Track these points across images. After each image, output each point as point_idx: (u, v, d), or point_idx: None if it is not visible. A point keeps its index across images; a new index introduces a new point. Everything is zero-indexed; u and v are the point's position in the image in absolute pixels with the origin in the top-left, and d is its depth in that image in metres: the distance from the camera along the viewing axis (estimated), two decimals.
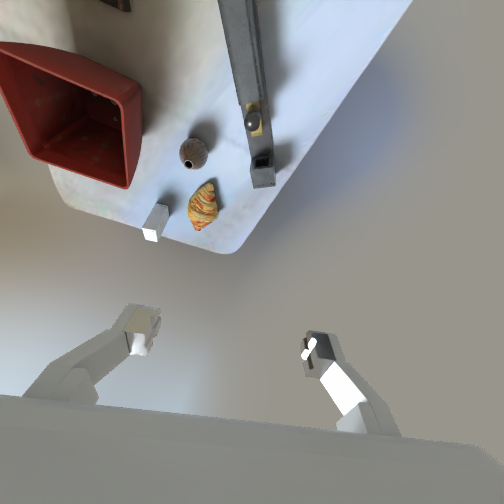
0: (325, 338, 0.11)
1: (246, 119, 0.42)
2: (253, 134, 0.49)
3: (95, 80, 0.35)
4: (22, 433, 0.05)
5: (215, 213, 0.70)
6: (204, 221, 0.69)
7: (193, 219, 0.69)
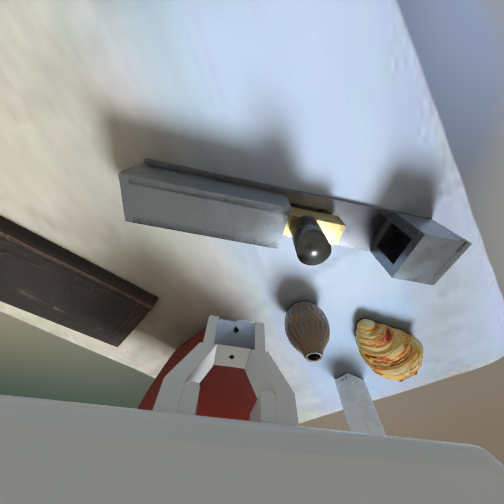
0: (250, 327, 0.11)
1: (302, 258, 0.20)
2: (334, 241, 0.25)
3: None
4: (22, 433, 0.05)
5: (413, 344, 0.37)
6: (413, 371, 0.37)
7: (395, 379, 0.38)
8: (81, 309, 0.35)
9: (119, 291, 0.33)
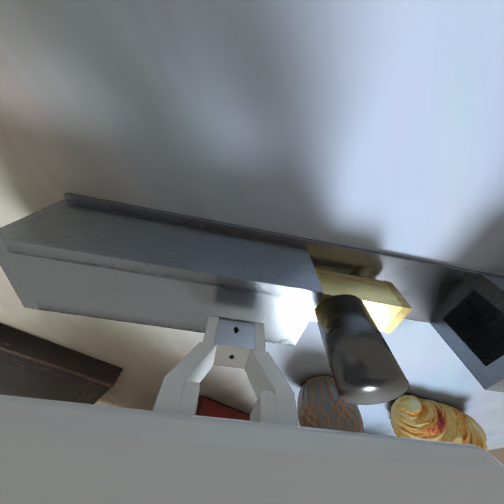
0: (250, 327, 0.11)
1: (346, 397, 0.10)
2: (388, 327, 0.15)
3: None
4: (22, 433, 0.05)
5: (473, 432, 0.27)
6: None
7: None
8: (15, 386, 0.25)
9: (61, 368, 0.23)
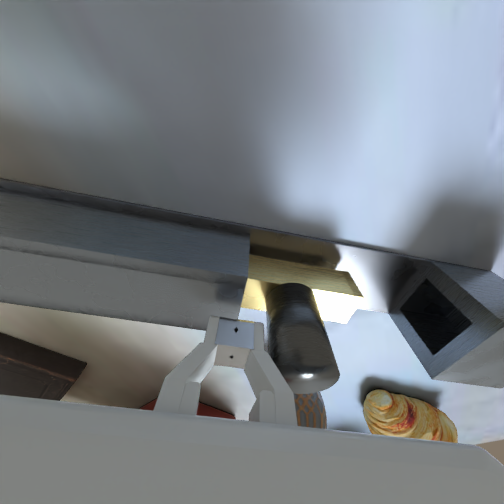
0: (249, 327, 0.11)
1: None
2: (343, 317, 0.15)
3: None
4: (22, 433, 0.05)
5: (444, 427, 0.26)
6: None
7: None
8: None
9: (20, 362, 0.22)
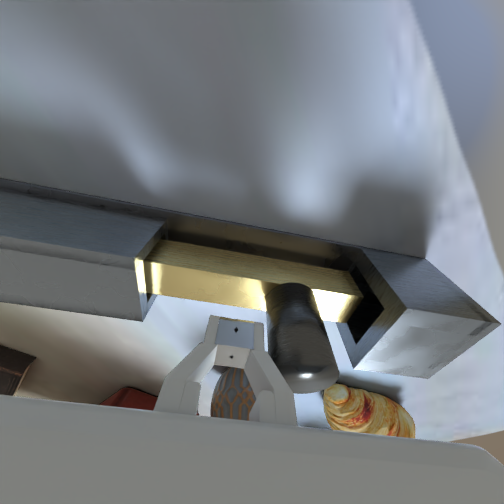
0: (249, 327, 0.11)
1: None
2: (343, 317, 0.15)
3: None
4: (22, 433, 0.05)
5: (401, 422, 0.26)
6: None
7: None
8: None
9: None
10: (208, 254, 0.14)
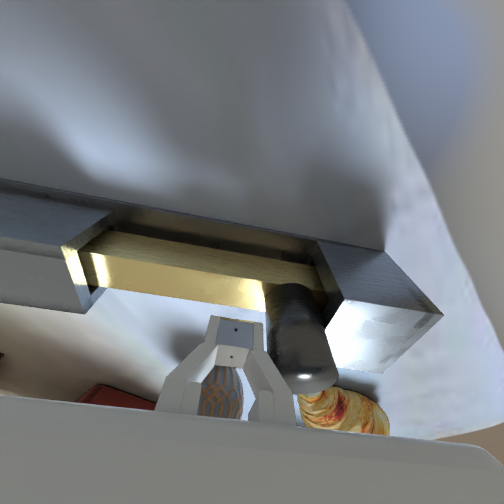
0: (249, 327, 0.11)
1: None
2: None
3: None
4: (22, 433, 0.05)
5: (376, 421, 0.26)
6: None
7: None
8: None
9: None
10: (207, 254, 0.14)
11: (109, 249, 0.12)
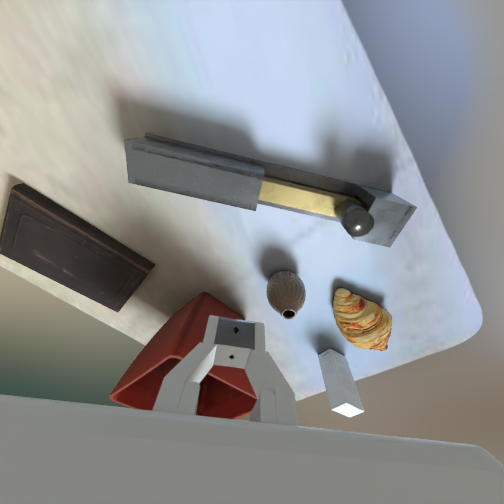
0: (250, 327, 0.11)
1: (349, 230, 0.26)
2: None
3: (162, 345, 0.33)
4: (22, 433, 0.05)
5: (383, 315, 0.41)
6: (381, 338, 0.40)
7: (365, 347, 0.42)
8: (87, 272, 0.40)
9: (120, 255, 0.37)
10: (307, 188, 0.29)
11: (269, 181, 0.28)
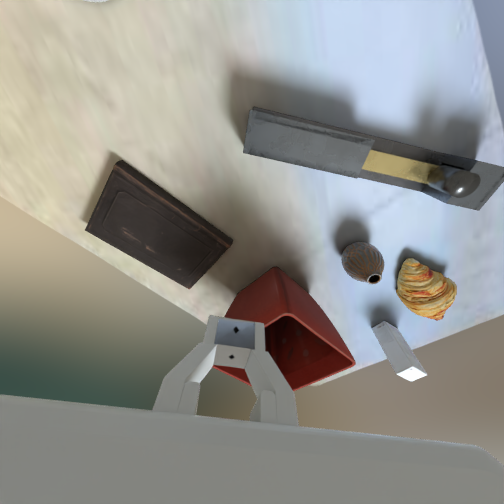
0: (250, 327, 0.11)
1: (454, 191, 0.28)
2: None
3: (259, 310, 0.35)
4: (22, 433, 0.05)
5: (449, 283, 0.43)
6: (447, 305, 0.43)
7: (430, 314, 0.44)
8: (169, 249, 0.42)
9: (206, 229, 0.39)
10: None
11: (371, 149, 0.30)
